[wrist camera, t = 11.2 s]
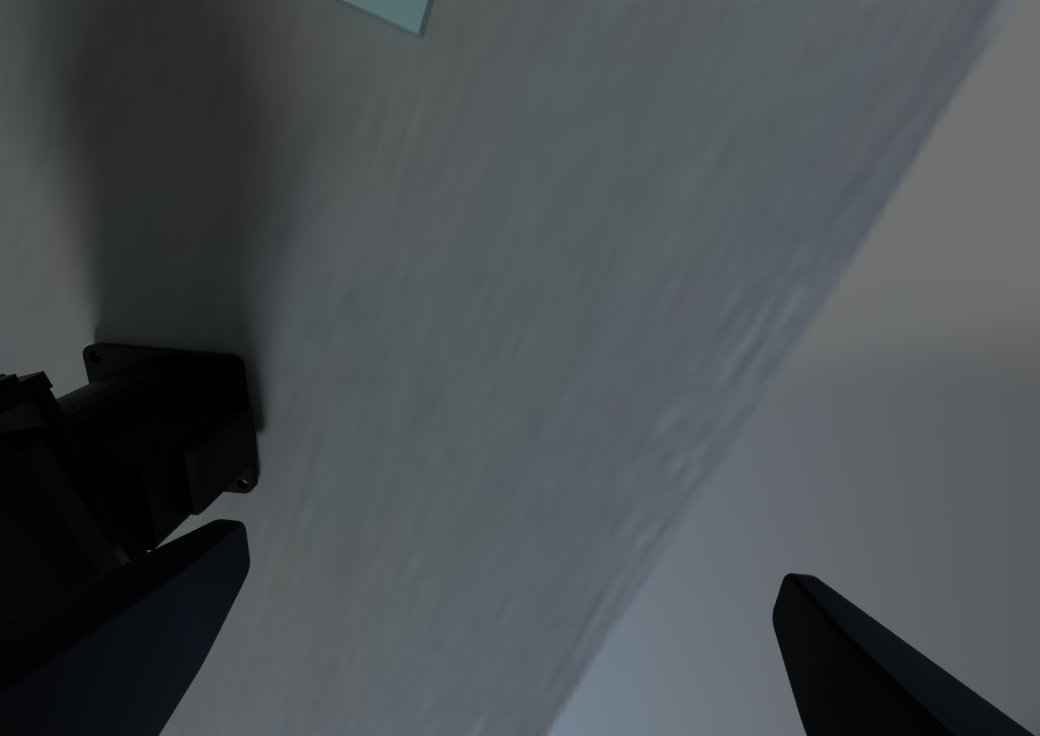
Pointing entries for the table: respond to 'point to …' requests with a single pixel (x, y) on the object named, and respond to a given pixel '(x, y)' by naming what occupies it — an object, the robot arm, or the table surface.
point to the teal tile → (397, 12)
